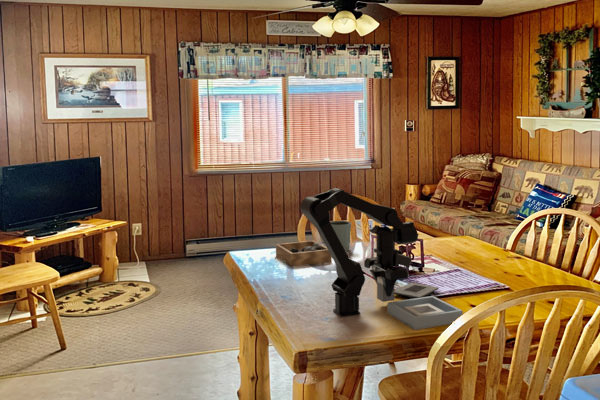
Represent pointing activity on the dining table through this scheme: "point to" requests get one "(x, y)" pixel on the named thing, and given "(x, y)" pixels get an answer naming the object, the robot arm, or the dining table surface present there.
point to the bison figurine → (307, 248)
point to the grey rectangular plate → (415, 290)
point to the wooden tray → (302, 253)
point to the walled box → (423, 312)
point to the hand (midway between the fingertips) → (385, 294)
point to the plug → (383, 291)
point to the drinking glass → (342, 232)
